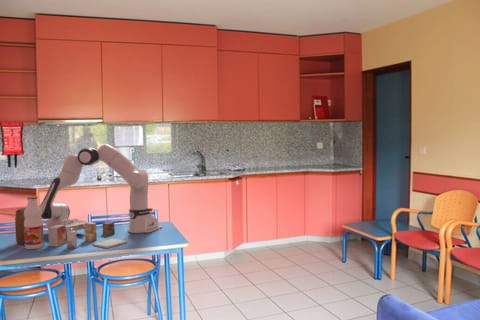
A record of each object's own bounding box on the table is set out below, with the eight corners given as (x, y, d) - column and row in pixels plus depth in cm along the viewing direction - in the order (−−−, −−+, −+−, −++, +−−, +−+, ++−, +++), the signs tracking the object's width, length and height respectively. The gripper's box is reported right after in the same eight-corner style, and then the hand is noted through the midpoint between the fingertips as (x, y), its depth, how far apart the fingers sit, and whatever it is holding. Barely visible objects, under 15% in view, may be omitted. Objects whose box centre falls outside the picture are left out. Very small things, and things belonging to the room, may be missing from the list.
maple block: (91, 239, 246) (91, 222, 245) (96, 240, 243) (96, 223, 242) (85, 240, 242) (84, 223, 241) (90, 241, 239) (89, 224, 239)
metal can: (73, 246, 230) (72, 230, 229) (78, 247, 227) (78, 231, 227) (64, 248, 226) (64, 231, 225) (70, 249, 223) (69, 233, 222)
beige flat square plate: (113, 240, 242) (113, 238, 242) (127, 242, 236) (127, 241, 236) (92, 245, 231) (92, 243, 231) (107, 248, 224) (107, 246, 224)
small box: (57, 246, 229) (56, 227, 228) (48, 246, 230) (47, 227, 230) (66, 243, 237) (65, 224, 236) (57, 242, 238) (57, 224, 237)
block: (28, 245, 234) (27, 209, 232) (14, 245, 233) (13, 210, 232) (36, 240, 244) (35, 206, 243) (23, 240, 244) (21, 206, 243)
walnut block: (109, 232, 261) (109, 221, 261) (114, 233, 259) (114, 222, 258) (102, 234, 257) (102, 223, 257) (108, 235, 255) (107, 224, 254)
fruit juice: (47, 245, 231) (45, 195, 229) (33, 250, 222) (31, 198, 221) (35, 244, 235) (33, 195, 233) (20, 248, 226) (18, 197, 224)
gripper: (49, 224, 247) (63, 227, 239) (79, 218, 264) (93, 220, 256) (49, 235, 247) (63, 237, 240) (79, 228, 264) (93, 230, 257)
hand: (79, 228), depth 248 cm, fingers open, 8 cm apart
